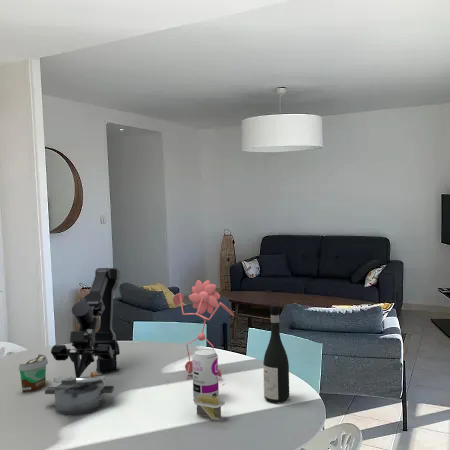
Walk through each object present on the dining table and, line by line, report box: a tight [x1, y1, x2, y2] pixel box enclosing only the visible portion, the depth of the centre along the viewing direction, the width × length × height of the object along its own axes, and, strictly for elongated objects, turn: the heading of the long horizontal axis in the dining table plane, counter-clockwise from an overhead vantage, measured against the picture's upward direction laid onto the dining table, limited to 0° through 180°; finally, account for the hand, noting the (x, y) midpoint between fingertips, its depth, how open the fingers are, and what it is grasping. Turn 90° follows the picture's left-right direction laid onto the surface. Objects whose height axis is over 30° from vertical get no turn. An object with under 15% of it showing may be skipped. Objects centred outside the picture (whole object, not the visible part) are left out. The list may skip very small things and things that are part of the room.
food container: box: [18, 353, 49, 393], centre depth 175 cm, size 12×6×10 cm, turn 168°
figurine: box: [172, 279, 235, 386], centre depth 183 cm, size 15×26×35 cm, turn 62°
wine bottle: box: [262, 304, 290, 404], centre depth 159 cm, size 8×8×30 cm
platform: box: [192, 394, 226, 420], centre depth 147 cm, size 12×18×7 cm, turn 64°
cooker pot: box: [44, 380, 115, 417], centre depth 158 cm, size 15×21×6 cm
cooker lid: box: [53, 371, 106, 385], centre depth 156 cm, size 20×16×2 cm
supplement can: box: [191, 348, 220, 399], centre depth 162 cm, size 8×8×15 cm
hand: (77, 377), depth 156 cm, fingers closed, pressing on cooker lid
